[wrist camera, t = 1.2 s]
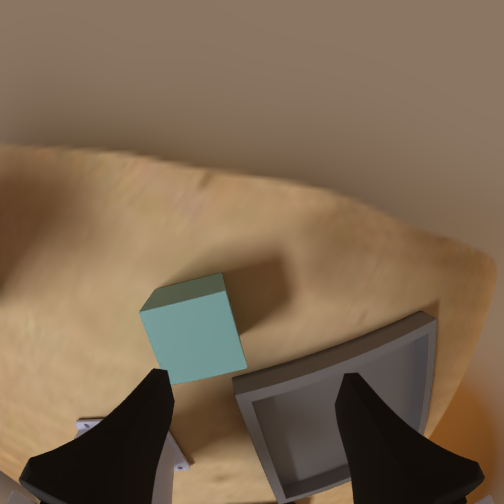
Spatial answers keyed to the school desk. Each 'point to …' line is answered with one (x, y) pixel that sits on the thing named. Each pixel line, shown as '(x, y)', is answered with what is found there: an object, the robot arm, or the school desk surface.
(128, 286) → the school desk surface
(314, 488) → the charcoal tray
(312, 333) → the school desk surface
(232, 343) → the teal cube
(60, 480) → the robot arm
